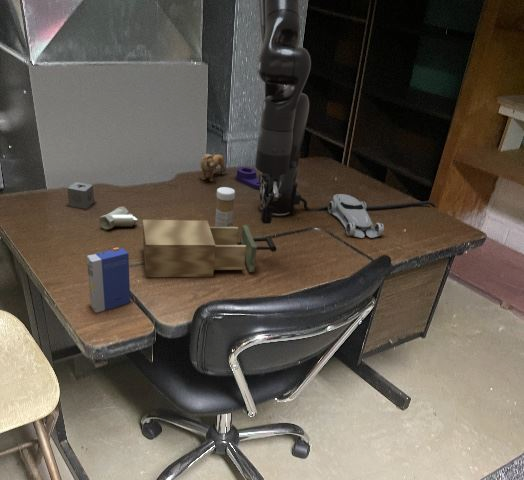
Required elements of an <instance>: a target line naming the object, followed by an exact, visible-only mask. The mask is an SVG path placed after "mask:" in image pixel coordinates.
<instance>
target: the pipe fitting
mask: <svg viewBox="0 0 524 480" xmlns="http://www.w3.org/2000/svg"><path fill="white" fill-rule="evenodd" d="M133 215H134V214H133V213H130V211H129V210H128V209H127V208H126V207H125V206H124V205H123V206H119V207H117V208H115V209H114V210H112V211H111V212H109V213H107V214H103V215H101V216H99V226H100V227H101V228H102V229H103V230H110V229H113V228H114V227H117V228H119V227H128V228H129V227H131V228H132V227H133V226H134V224H136V223H137V222H138V218H136V216H133Z"/></svg>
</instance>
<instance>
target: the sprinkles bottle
mask: <svg viewBox="0 0 524 480" xmlns="http://www.w3.org/2000/svg"><path fill="white" fill-rule="evenodd" d="M235 199H236V190H235V189H234V188H231V187H229V186H228V187H227V186H221V187H218V188H217V189H216V209H215V219H214V227H233V220H234V203H235Z"/></svg>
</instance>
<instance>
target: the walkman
mask: <svg viewBox="0 0 524 480" xmlns="http://www.w3.org/2000/svg"><path fill="white" fill-rule="evenodd" d="M129 259H130V258H129V252H128V251H126V250H125V248H123V247H114V248H112V249H110V250H106V251H105V250H104V251H102V252H96V253H93V254H88V255H86V264H87V276H88V288H89V298H90V307H91V308H92V310H93V312H95V313H101V312H103V311H106V310H111V309H113V308H117V307H119V306H123V305H127V304H130V303H131V288H130V287H131V286H130V283H131V282H130V260H129Z"/></svg>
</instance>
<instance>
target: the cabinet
mask: <svg viewBox="0 0 524 480" xmlns="http://www.w3.org/2000/svg"><path fill="white" fill-rule="evenodd" d="M210 227H211V226H210V224H209V221H208V220H194V219H193V220H190V219H189V220H188V219H186V220H185V219H142V251H143V259H144V260H143V261H144V270H145V277H146V278H205V277H206V278H208V277H209V278H212V277H214V272H215V270H214V259H215V242H214V239H213V236H212V233H211V230H210Z"/></svg>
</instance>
